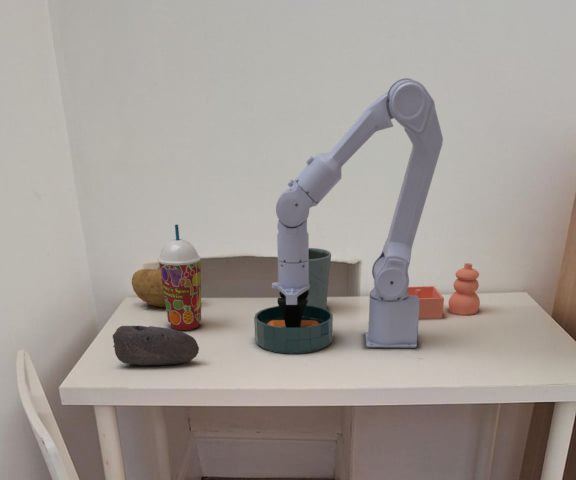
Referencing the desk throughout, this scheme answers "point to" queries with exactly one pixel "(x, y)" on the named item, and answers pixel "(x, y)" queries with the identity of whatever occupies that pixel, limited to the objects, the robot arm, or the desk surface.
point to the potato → (149, 286)
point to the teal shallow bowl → (293, 331)
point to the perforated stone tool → (153, 345)
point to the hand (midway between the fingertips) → (293, 331)
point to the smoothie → (181, 283)
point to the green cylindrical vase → (318, 277)
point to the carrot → (303, 324)
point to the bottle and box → (459, 301)
